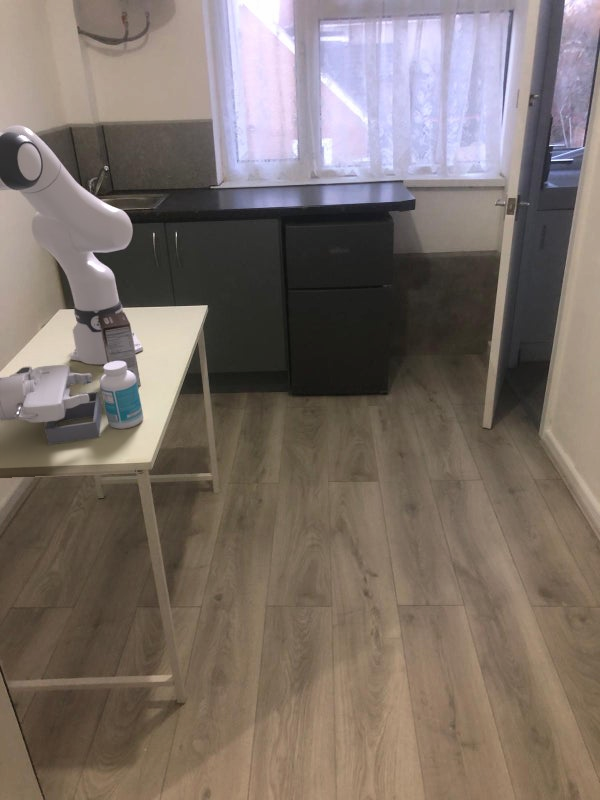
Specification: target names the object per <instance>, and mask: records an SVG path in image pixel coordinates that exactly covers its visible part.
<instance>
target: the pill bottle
mask: <svg viewBox="0 0 600 800" xmlns="http://www.w3.org/2000/svg"><path fill="white" fill-rule="evenodd" d="M103 365H104V366H103V367H102V368H103V372H104V374H103V375H102V376H101V378H100V381H99V385H100V391H101V397H102V399H103V400H102V401H103V405H104V408H105V409H104V410H105V413H106V419H107V421H108V425H109V426H110V427H112V428H114V429H117V430H123V429H130V428H133V427H136V426H137V425H139V424H140V423H141V422H142V421H143V419H144V411H143V407H142V403H141V397H140V392H139V386H137V381H136V377H135V375H134V373H132V372H131V371H128V370H127V365H126V362H124V361H113V362H109V363H107V364H103Z"/></svg>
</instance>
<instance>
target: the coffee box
mask: <svg viewBox="0 0 600 800" xmlns="http://www.w3.org/2000/svg"><path fill="white" fill-rule="evenodd" d="M98 319H99V323H100V328H101V333H102V338H103V343H104V348H105V353H106V357H107V362H108V363H109V362H113V361H124V362H126V365H127V370H128V371H131V372H132V373H134V375H135V377H136V381H137V386H138V387H141V385H142V384H141V379H140V373H139V372H140V371H139V367H138V361H137V355H136V354H137V353H135V348H134V343H133V337H132V331H133V330H132V325H131V322H130V321H129V318H128V317H127V315H126V313H125V312H124V311H123V313H117V314H108V315H102V316H98ZM130 325H131V326H130ZM131 330H132V331H131Z"/></svg>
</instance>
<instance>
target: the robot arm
mask: <svg viewBox="0 0 600 800" xmlns="http://www.w3.org/2000/svg"><path fill="white" fill-rule="evenodd" d="M10 190H13V191H19V192H20V194H21V195H22V196H23V197H24V199H26V200H27V202H28V203H29V204H30V205H31V206H32V208H34V209H35V210H36V212H35V214H34V215H33V217H32V221H31V231H32V235H33V238H34V240H35V241H36V243H37V244H38V245H39V246H41V248H43V249H45V251H47V252H49V253H50V255H52V256H53V257H54V259H55V260H56V261H57V262H58V264H59V266H60V267H61V268H62V270H63V272H64V273H65V276H66V279H67V281H68V284H69V287H70V291H71V295H72V298H73V303H74V307H73V311H74V317H75V320H76V324H75V325H74V327H73V328H72V337H73V341H74V347H75V349H74V350H73V351H72V353H71V354H70V359H71V360H72V361H80V362H82V363H84V364H88V365H105V364H107V363H108V362H107V357H106V353H105V348H104V343H103V338H102V333H101V328H100V323H99V319H98V316H102V315H108V314H117V313H123V312H124V310H123V309H124V308H123V305H122V302H121V300H120V299H119V294H118V289H117V284H116V277H115V274H114V272H113V271H112V269H111V268H109V266H107V265H105V264H104V263H103V262H101V261H99V259H98V258H97V257H96V256H95V255H94V253H112V252H116V251H120V250H122V251H123V250H125V249H126V248H127V247H128V246H129V245H130V243H131V241H132V237H133V233H134V232H133V231H134V230H133V223H132V222H131V219H130V216H129V215H128V214H127V213H126V212H125V211H124V210H123V209H120V208H117V207H115V206H112V205H111V204H108V203H107V202H104V201H102V200H101V199H99V198H98V197H97V196H95V195H93V194H92V193H91V192H89V191H88V190H87V189H86V188H84V187H83V186H81V184H79V182H77V181H76V180H75V178H74V177H73V176H72V175H71V173H70V172H69V171H68V169H67V168H66V167H65V166H64V165H63V163H62V162H61V161H60V159H59V158H58V157H57V155H56V154H55V153H54V152H53V151H52V149H51V148H50V147H49V146H48V145H47V144H46V143H45V141H44V140H42V138H40V137H39V136H38V135H37V134H36V133H35V131H33V130H31V129H30V128H28V127H26V126H24V125H19V124H18V125H16V124H15V125H11V126H7V127H5V128H4V129H2V130H1V131H0V191H10ZM130 326H131V327H132V325H131V324H130ZM131 331H132V337H133V343H134V348H135V354H137V353H139V352H142V351H143V350H144V348H143V344H142V343H141V341H140V340H139V338H138V337H137V335H136V334H135V332H134V331H133V330H132V329H131ZM92 376H93V375H92V373H78V372H72V370H71V368H70V366H69V365H67V364H57V365H56V364H54V365H53V364H52V365H43V366H38V367H35V368H33V367H32V366H29V365H28V366H23V367H21V368H19V369H18V370H17V371H16V372H15V373H13V374H10V375H9V376H4V377H3V376H2V377H0V420H1V421H11V420H20V421H26V422H28V423H47V422H49V421H57V420H60V419H62V418H64V417H65V412H66V409H68V408H73V407H75V406H77V405H79V404H82V403H88V402H89V399H90V397H89V393H90V392H87V391H83V392H79V393H78V394H79V395H76V394H74V395H75V396H72V397H70V396H69V395H70V392H71V387H72V385H76V384H78V383H80V384H83V385H88V384H92V382H93V377H92Z"/></svg>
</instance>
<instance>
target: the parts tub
mask: <svg viewBox="0 0 600 800" xmlns="http://www.w3.org/2000/svg"><path fill="white" fill-rule="evenodd" d="M88 393H89V397H90V399H89V402H88V403H82V404H79V405H77V406H75V407H73V408H68V409H66V412H65V417H64V418H62V419H60V420H57V421H49V422H46V425H45V429H44V430H45V435H46V439H47V442H48V445H55V444H61V443H67V442H75V441H76V442H77V441H81V440H90V439H97V438H100V431H101V425H102V424H101V423H102V422H101V420H102V415H103V414H102V411H103V400H102V395H101V393H100V391H93V392H91V391H90V392H88ZM75 395H79V393H77V394H71V395H70V394H69V396H70V397H72V396H75ZM92 417H93V419H92V421H89V422H81V423H73V424H68V425H60V426H57V424H58V422H66V421H71V420H79V419H85V418H86V419H87V418H92Z"/></svg>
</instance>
